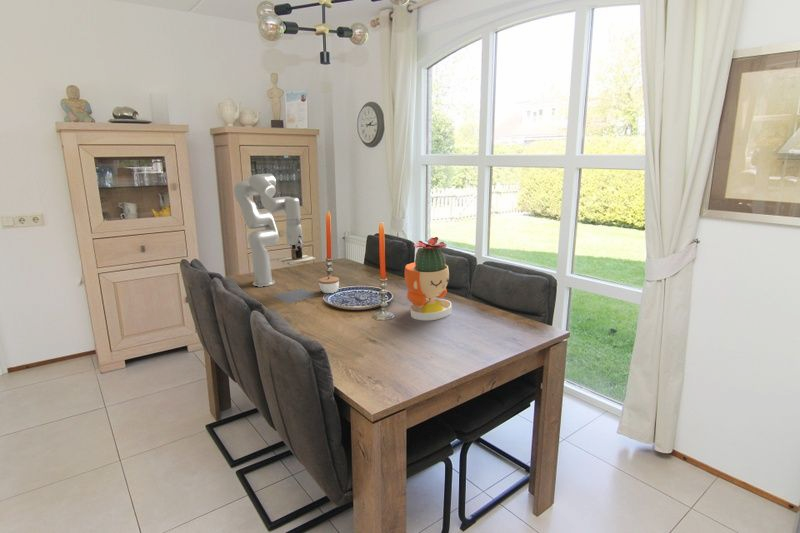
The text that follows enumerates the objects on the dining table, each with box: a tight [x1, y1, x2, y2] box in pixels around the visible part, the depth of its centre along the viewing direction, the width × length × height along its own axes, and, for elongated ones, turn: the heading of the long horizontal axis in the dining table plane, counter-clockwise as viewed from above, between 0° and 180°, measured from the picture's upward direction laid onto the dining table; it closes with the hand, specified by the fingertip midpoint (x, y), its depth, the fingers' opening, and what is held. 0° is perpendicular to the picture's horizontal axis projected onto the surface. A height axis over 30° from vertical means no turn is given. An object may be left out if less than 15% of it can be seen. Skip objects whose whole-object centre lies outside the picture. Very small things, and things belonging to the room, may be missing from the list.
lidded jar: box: [318, 275, 340, 294], centre depth 245 cm, size 11×11×9 cm
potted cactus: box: [403, 236, 452, 321], centre depth 209 cm, size 22×22×35 cm
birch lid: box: [277, 248, 318, 266], centre depth 238 cm, size 15×15×6 cm
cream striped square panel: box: [272, 288, 319, 305], centre depth 243 cm, size 18×18×1 cm
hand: (297, 256), depth 238 cm, fingers closed on birch lid, 4 cm apart
